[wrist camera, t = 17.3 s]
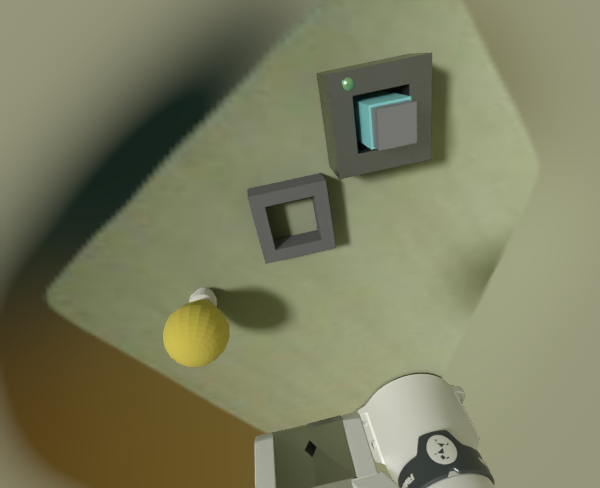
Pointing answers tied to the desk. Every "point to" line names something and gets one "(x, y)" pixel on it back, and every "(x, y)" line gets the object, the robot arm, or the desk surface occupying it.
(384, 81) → the port
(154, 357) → the desk surface
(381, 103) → the plug
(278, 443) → the robot arm
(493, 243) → the desk surface
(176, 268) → the desk surface
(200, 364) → the light bulb
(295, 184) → the frame
